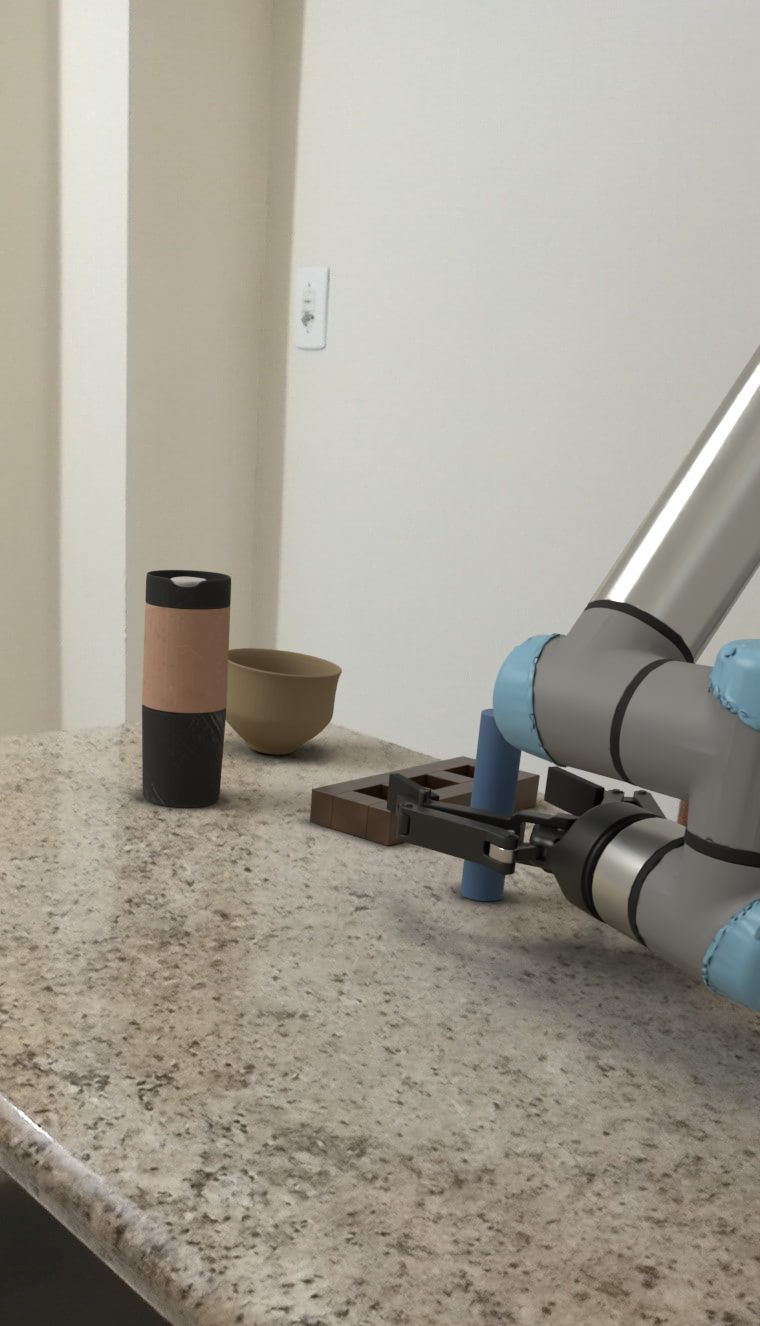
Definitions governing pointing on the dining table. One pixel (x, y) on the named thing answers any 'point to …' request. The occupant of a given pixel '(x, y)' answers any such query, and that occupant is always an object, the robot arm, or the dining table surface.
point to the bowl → (279, 697)
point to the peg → (491, 801)
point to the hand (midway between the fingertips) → (472, 787)
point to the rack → (366, 798)
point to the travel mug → (184, 686)
